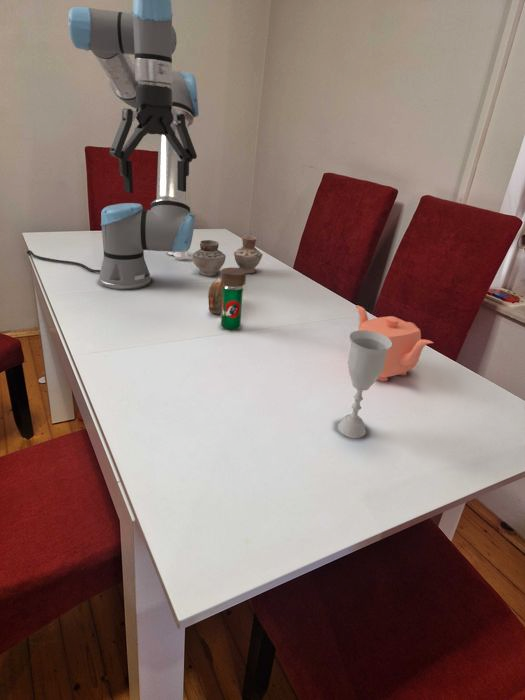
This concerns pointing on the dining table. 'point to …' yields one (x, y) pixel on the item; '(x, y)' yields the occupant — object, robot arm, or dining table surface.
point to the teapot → (396, 342)
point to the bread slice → (215, 296)
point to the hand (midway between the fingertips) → (156, 191)
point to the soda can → (231, 307)
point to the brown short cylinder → (233, 277)
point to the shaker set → (179, 255)
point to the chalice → (363, 374)
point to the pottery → (214, 259)
